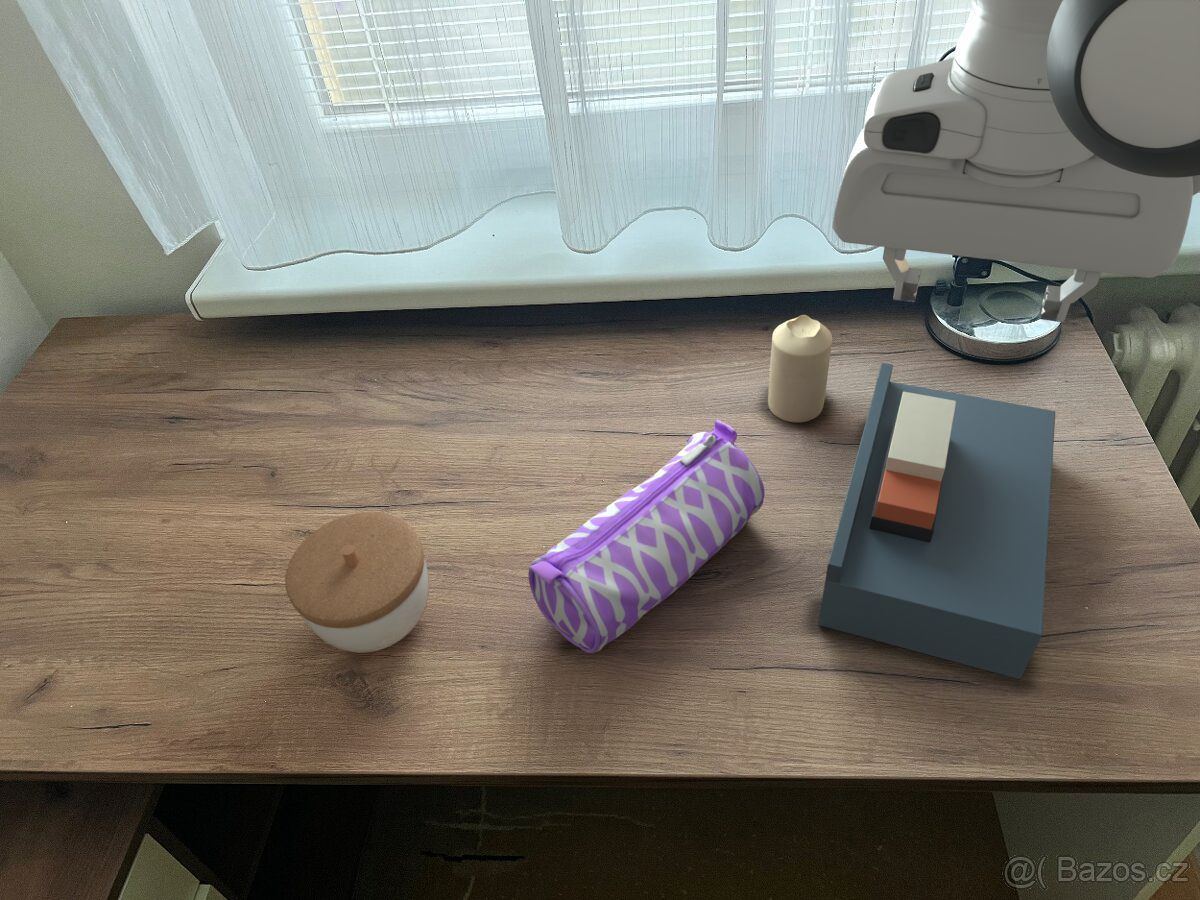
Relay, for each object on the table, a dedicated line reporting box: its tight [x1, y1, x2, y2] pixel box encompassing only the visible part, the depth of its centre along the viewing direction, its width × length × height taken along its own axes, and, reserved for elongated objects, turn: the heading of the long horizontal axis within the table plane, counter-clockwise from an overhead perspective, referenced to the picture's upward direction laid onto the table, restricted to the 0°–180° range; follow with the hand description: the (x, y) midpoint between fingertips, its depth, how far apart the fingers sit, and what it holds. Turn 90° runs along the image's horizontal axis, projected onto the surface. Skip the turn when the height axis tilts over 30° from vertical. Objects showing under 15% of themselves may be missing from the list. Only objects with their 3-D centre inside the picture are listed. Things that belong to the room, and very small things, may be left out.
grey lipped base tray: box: [817, 362, 1056, 680], centre depth 72 cm, size 15×24×8 cm, turn 158°
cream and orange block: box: [869, 392, 956, 543], centre depth 70 cm, size 12×5×5 cm, turn 158°
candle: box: [767, 314, 833, 423], centre depth 84 cm, size 6×6×10 cm
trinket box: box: [284, 511, 430, 653], centre depth 70 cm, size 11×11×9 cm
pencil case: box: [527, 419, 765, 654], centre depth 72 cm, size 22×9×10 cm, turn 136°
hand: (976, 306), depth 60 cm, fingers open, 8 cm apart
